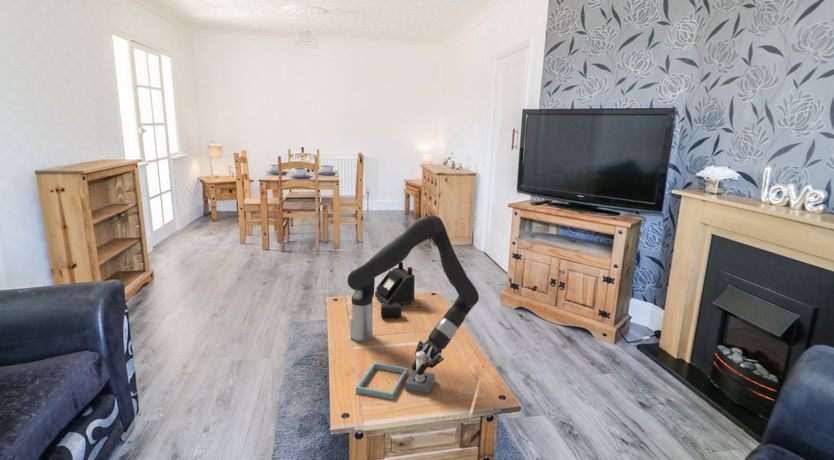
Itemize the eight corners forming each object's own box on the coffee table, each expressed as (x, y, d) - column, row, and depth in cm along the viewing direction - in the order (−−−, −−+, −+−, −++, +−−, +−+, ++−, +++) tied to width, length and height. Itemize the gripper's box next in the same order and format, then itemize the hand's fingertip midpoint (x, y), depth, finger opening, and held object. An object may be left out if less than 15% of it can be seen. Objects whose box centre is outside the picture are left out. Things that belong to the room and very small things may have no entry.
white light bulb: (413, 382, 164) (414, 355, 161) (416, 377, 167) (417, 350, 164) (423, 384, 163) (424, 357, 160) (425, 379, 166) (426, 352, 163)
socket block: (405, 392, 162) (405, 382, 161) (412, 379, 171) (412, 370, 170) (428, 397, 160) (429, 387, 159) (434, 383, 168) (435, 374, 167)
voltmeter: (374, 298, 249) (374, 264, 244) (400, 294, 257) (400, 260, 252) (387, 309, 235) (387, 273, 231) (414, 303, 243) (414, 268, 239)
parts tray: (355, 394, 161) (355, 387, 160) (374, 369, 177) (374, 362, 177) (392, 401, 157) (392, 394, 156) (407, 375, 174) (407, 368, 173)
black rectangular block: (381, 320, 222) (381, 307, 220) (380, 314, 229) (380, 302, 227) (401, 319, 223) (401, 307, 222) (399, 313, 230) (400, 301, 229)
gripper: (426, 321, 170) (399, 358, 166) (449, 335, 159) (420, 376, 155) (437, 330, 174) (410, 367, 170) (460, 345, 163) (432, 385, 159)
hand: (415, 371), depth 163 cm, fingers closed on white light bulb, 3 cm apart
